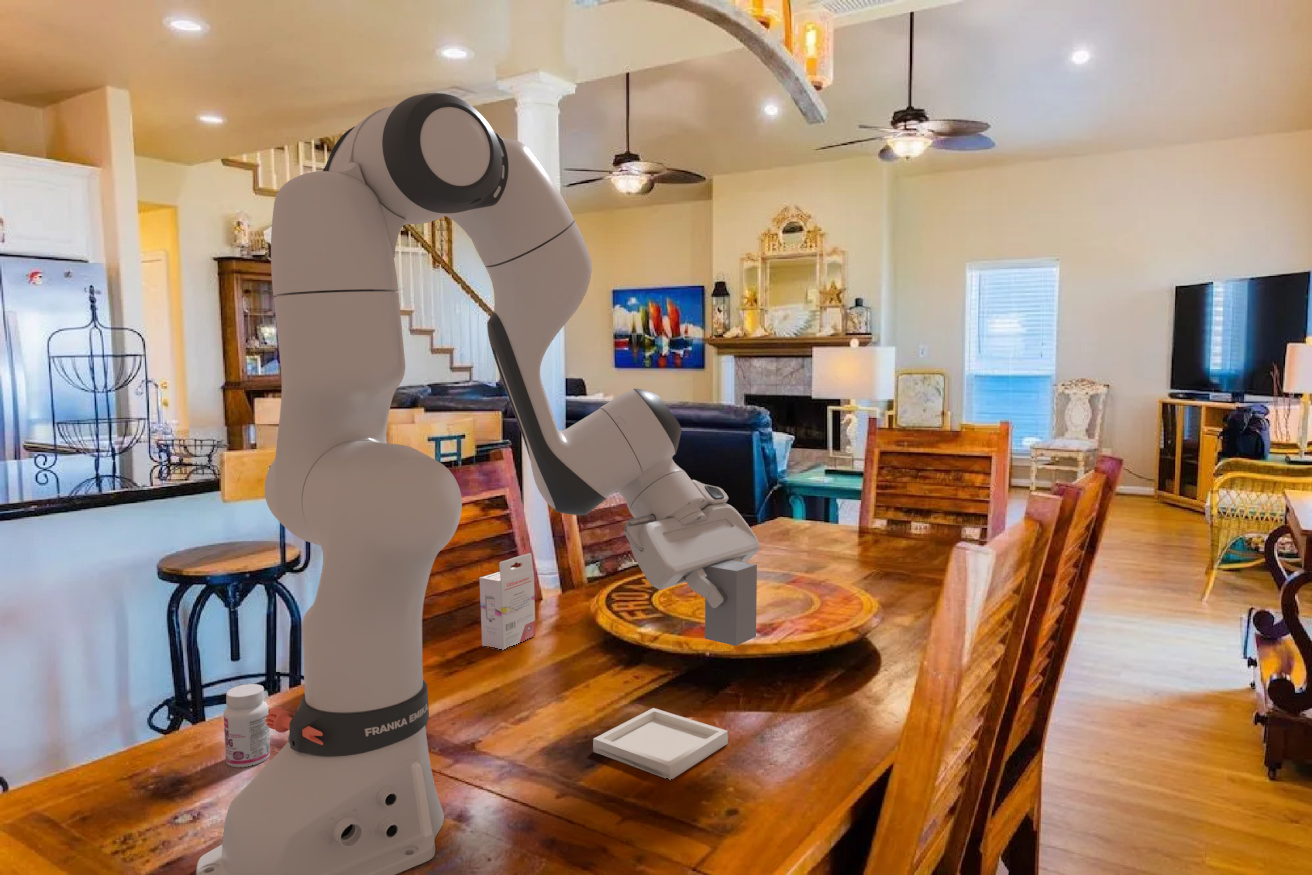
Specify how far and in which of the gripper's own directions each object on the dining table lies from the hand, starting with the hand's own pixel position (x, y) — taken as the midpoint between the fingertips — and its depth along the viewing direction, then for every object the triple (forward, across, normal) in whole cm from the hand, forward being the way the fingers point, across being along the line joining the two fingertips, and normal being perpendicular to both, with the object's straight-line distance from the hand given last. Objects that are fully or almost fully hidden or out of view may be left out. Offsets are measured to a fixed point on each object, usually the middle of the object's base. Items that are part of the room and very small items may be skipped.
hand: (735, 599), depth 103 cm
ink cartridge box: (-23, +9, +49) cm, 55 cm away
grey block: (+3, 0, +4) cm, 5 cm away
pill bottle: (-17, -39, +44) cm, 61 cm away
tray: (+8, -7, +17) cm, 20 cm away
